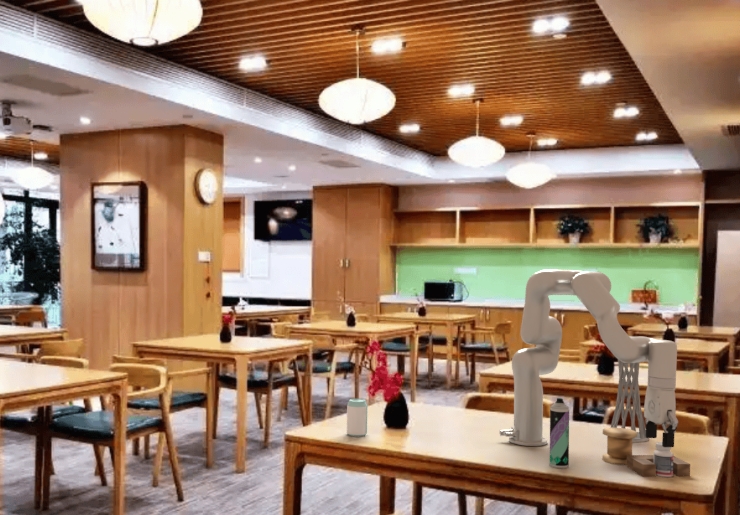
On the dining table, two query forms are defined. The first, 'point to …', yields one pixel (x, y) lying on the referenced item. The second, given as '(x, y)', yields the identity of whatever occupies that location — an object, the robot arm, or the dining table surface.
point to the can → (357, 417)
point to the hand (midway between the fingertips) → (659, 442)
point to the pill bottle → (663, 460)
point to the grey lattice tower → (635, 395)
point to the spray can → (559, 434)
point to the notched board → (648, 468)
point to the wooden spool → (618, 445)
